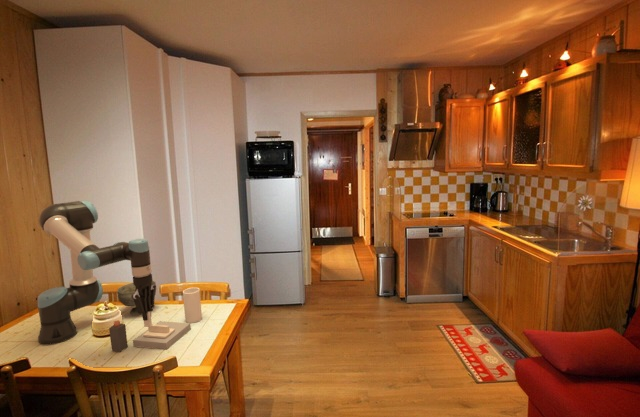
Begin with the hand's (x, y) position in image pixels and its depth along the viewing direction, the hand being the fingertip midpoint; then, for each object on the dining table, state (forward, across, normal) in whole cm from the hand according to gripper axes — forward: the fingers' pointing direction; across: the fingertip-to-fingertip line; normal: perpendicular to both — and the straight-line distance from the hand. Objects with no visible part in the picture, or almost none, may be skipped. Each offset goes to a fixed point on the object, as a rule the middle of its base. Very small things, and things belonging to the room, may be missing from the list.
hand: (148, 326), depth 157 cm
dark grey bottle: (+10, -3, +14) cm, 17 cm away
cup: (+11, +29, -4) cm, 31 cm away
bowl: (+10, +34, +34) cm, 49 cm away
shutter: (+7, +7, 0) cm, 10 cm away
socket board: (+10, +10, 0) cm, 14 cm away
